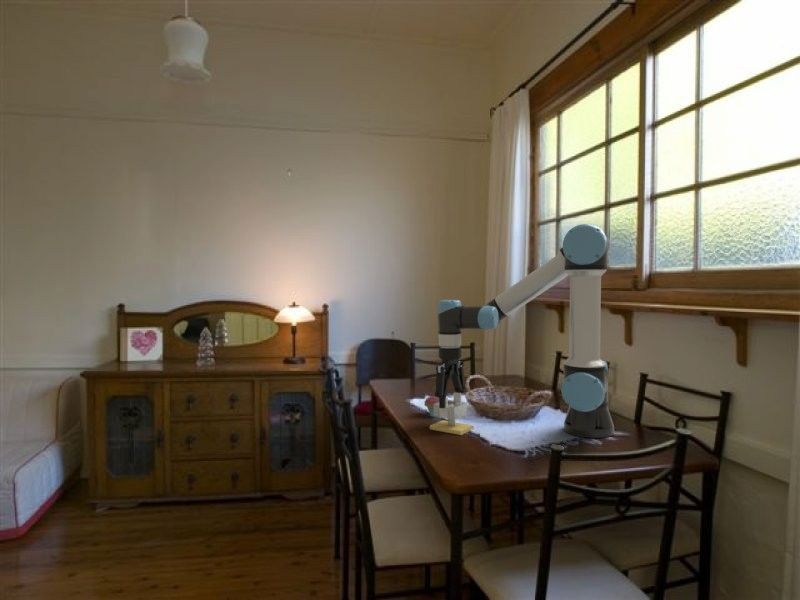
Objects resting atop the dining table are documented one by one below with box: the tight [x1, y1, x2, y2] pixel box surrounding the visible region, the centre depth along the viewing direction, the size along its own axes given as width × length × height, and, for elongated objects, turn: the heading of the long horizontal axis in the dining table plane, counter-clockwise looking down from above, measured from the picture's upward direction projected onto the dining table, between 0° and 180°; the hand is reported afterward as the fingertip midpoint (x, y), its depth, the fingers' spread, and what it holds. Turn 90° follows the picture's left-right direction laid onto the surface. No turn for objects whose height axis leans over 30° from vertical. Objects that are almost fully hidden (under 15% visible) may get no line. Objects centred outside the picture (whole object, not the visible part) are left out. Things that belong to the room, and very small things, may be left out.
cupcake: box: [423, 385, 439, 418], centre depth 185 cm, size 9×8×12 cm
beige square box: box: [434, 399, 468, 421], centre depth 168 cm, size 8×8×4 cm
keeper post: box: [429, 404, 474, 436], centre depth 167 cm, size 12×8×8 cm, turn 52°
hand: (450, 414), depth 167 cm, fingers closed on beige square box, 8 cm apart
